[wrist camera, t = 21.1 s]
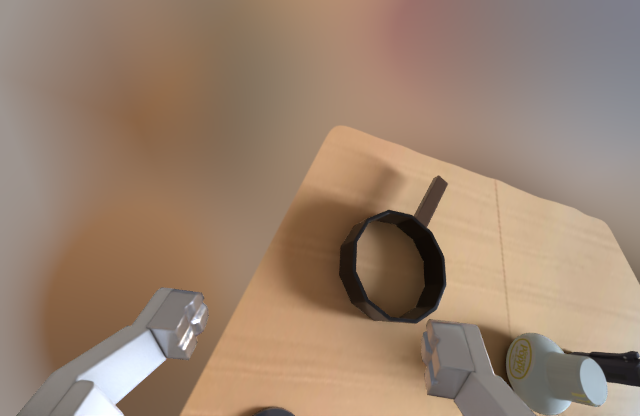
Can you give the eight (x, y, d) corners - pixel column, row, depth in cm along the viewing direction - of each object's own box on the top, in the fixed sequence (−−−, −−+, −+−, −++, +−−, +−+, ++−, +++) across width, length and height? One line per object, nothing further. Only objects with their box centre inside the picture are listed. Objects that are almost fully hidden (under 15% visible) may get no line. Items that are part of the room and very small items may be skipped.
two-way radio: (567, 378, 51) (697, 401, 38) (556, 350, 52) (679, 363, 39) (584, 368, 53) (713, 386, 40) (574, 342, 54) (696, 351, 41)
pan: (402, 344, 41) (422, 347, 38) (320, 278, 40) (332, 274, 36) (458, 214, 53) (477, 207, 50) (396, 160, 52) (410, 148, 48)
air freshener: (534, 418, 46) (614, 443, 37) (495, 391, 45) (568, 410, 36) (542, 349, 51) (615, 356, 42) (507, 323, 50) (575, 325, 41)
